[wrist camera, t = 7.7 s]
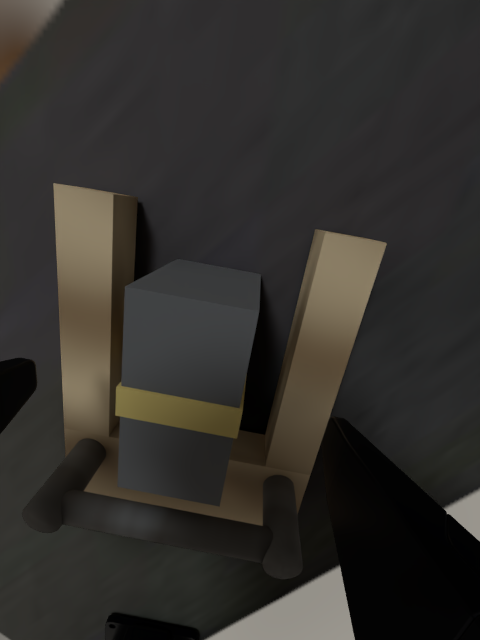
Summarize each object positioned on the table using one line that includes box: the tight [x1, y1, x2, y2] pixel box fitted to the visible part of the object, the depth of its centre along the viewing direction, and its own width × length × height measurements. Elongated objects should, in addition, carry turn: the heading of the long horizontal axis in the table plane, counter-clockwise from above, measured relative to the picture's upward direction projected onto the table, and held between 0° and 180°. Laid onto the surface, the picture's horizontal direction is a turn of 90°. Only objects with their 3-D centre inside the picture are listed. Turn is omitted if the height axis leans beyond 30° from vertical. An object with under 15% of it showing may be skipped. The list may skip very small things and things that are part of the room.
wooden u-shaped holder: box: [22, 183, 387, 579], centre depth 12 cm, size 14×11×5 cm
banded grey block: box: [115, 259, 261, 507], centre depth 11 cm, size 4×7×5 cm, turn 170°
